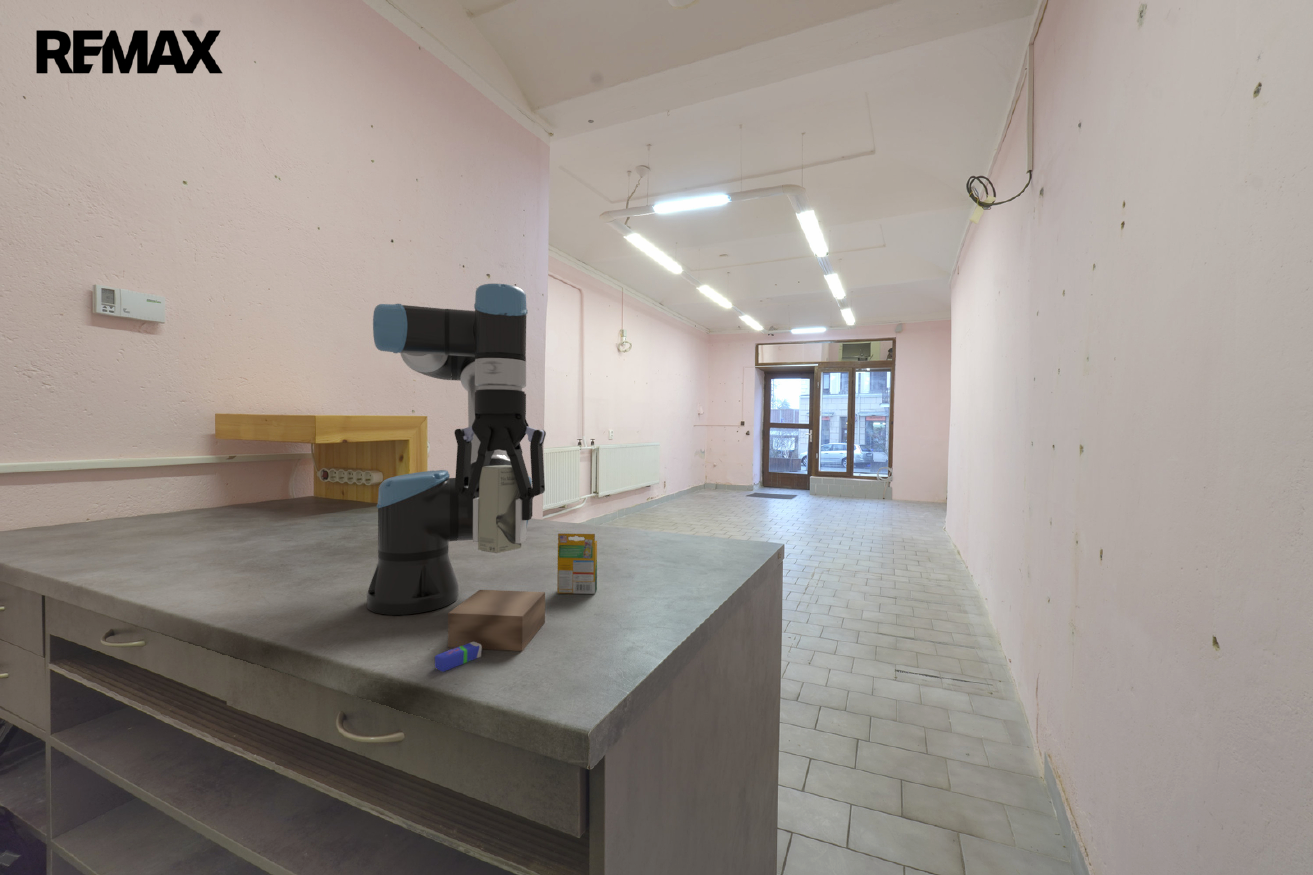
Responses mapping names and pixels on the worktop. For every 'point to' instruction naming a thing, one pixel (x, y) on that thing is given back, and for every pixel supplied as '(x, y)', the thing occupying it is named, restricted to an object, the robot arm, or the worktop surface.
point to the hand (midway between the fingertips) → (499, 540)
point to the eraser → (457, 656)
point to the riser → (497, 619)
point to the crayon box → (577, 564)
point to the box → (497, 509)
